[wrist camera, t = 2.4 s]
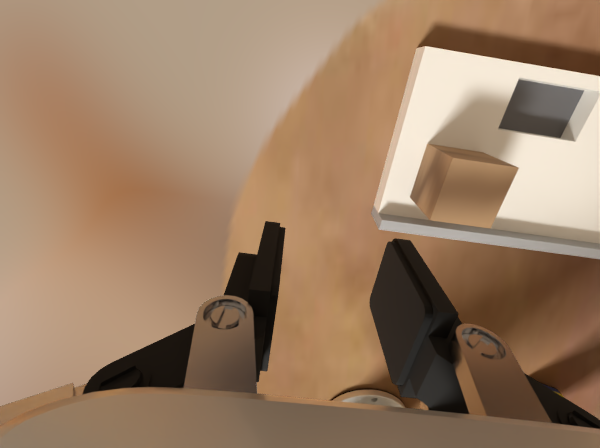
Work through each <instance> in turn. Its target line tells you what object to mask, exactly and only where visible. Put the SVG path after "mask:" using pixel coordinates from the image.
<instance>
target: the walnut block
mask: <svg viewBox="0 0 600 448" xmlns="http://www.w3.org/2000/svg"><path fill="white" fill-rule="evenodd" d="M518 169H519V168H518V167H516V166H514V165H511V164H509V163H507V162H504V161H502V160H500V159H497V158H495V157H493V156H491V155H488V154H486V153H484V152H479V151H472V150H466V149H459V148H453V147H446V146H440V145H433V144H427V146H426V149H425V152H424V155H423V158H422V161H421V164H420V167H419V170H418V173H417V177H416V180H415V183H414V186H413V189H412V192H411V195H410V198H411V199H412V200H413V202H414V203H415V204H416V205H417V206H418V207H419V208H420V210H421V211H422V212H423V213H424V214H425V215H426V216H427V218H428V219H429V220H432V221H439V222H446V223H453V224H461V225H468V226H475V227H482V228H490V229H491V226H492V224H493V222H494V220H495V218H496V216H497V214H498V212H499V209H500V207H501V205H502V203H503V201H504V199H505V197H506V195H507V192H508V190H509V188H510V186H511V184H512V182H513V180H514V178H515V175H516V173H517V171H518Z"/></svg>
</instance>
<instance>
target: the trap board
mask: <svg viewBox="0 0 600 448" xmlns="http://www.w3.org/2000/svg"><path fill="white" fill-rule="evenodd" d="M427 144H433V145H440V146H446V147H453V148H459V149H466V150H472V151H479V152H484V153H486V154H488V155H491V156H493V157H495V158H497V159H500V160H502V161H504V162H507V163H509V164H511V165H514V166H516V167H518V168H519V169H518V171H517V173H516V175H515V178H514V180H513V182H512V184H511V186H510V188H509V190H508V192H507V195H506V197H505V199H504V201H503V203H502V205H501V207H500V209H499V212H498V214H497V216H496V218H495V220H494V222H493V224H492V226H491V229H490V228H482V227H475V226H468V225H461V224H453V223H446V222H439V221H432V220H429V219H428V218H427V216H426V215H425V214H424V213H423V212H422V211H421V210H420V208H419V207H418V206H417V205H416V204H415V203H414V202H413V200H412V199H411V198H410V195H411V192H412V189H413V186H414V183H415V180H416V177H417V173H418V170H419V167H420V164H421V161H422V158H423V155H424V152H425V149H426V146H427ZM371 214H372V216H373V218H374V220H375V222H376V224H377V226H378V228H379V230H387V231H394V232H401V233H409V234H416V235H424V236H431V237H439V238H446V239H454V240H461V241H468V242H476V243H483V244H491V245H498V246H506V247H513V248H520V249H528V250H535V251H543V252H550V253H558V254H565V255H572V256H580V257H587V258H595V259H600V76H596V75H590V74H584V73H578V72H573V71H567V70H561V69H555V68H549V67H544V66H538V65H532V64H526V63H520V62H515V61H509V60H503V59H497V58H491V57H486V56H480V55H474V54H468V53H462V52H457V51H451V50H445V49H439V48H433V47H428V46H424V47H419V48H416V52H415V55H414V59H413V63H412V67H411V70H410V74H409V78H408V81H407V85H406V89H405V92H404V96H403V100H402V103H401V107H400V111H399V114H398V118H397V122H396V125H395V129H394V133H393V136H392V140H391V144H390V147H389V151H388V155H387V158H386V162H385V166H384V169H383V173H382V177H381V180H380V184H379V188H378V191H377V195H376V199H375V202H374V206H373V210H372V213H371Z"/></svg>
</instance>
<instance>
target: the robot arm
mask: <svg viewBox="0 0 600 448" xmlns="http://www.w3.org/2000/svg"><path fill="white" fill-rule="evenodd" d="M284 236H285V228H284V227H280V223H275V222H268V221H266V222H265V226H264V230H263V234H262V238H261V242H260V246H259V250H258V254H257V255H255V254H247V253H239V254H238V256H237V259H236V262H235V265H234V267H233V270H232V273H231V276H230V279H229V282H228V284H227V287H226V290H225V293H224V296H217V297H214V298H211V299H209V300H207V301H206V302H204V303H203V304H202V305H201V306H200V307H199V310H198V312H197V316H196V321H195V324H193V325H191V326H189V327H187V328H185V329H183V330H180V331H178V332H176V333H174V334H172V335H170V336H168V337H165V338H163V339H161V340H159V341H157V342H155V343H153V344H151V345H149V346H146V347H144V348H142V349H140V350H138V351H136V352H133V353H131V354H129V355H127V356H125V357H123V358H121V359H119V360H116V361H114V362H112V363H110V364H108V365H107V366H105V367H103V368H102V369H100V370H99V371H98V372H97V373H96V374H95V375H94V376H92V377H91V379H90V380H89V382H88V383H87V384H84V385H81V386H78V387H75V388H74V384H73V383H70V384H67V385H64V386H61V387H58V388H55V389H52V390H49V391H46V392H43V393H39V394H37V395H34V396H30V397H27V398H24V399H21V400H18V401H15V402H12V403H9V404H6V405H3V406H0V448H600V420H599V419H597V418H596V417H595V416H593V415H591V414H590V413H588V412H587V411H585V410H583V409H582V408H580V407H578V406H577V405H575V404H574V403H572V402H570V401H569V400H567V399H565V398H564V397H562V396H561V395H559V394H557V393H556V392H554V391H552V390H551V389H549V388H547V387H546V386H544V385H543V384H541V383H539V382H538V381H536V380H534V379H533V378H531V377H530V376H528V375H526V374H525V373H524V372H523V371H522V369H521V367H520V365H519V364H518V362H517V360H516V358H515V356H514V355H513V353H512V351H511V349H510V348H509V347H508V345H507V344H506V343H505V342H504V341H503V340H502V339H501V338H500V337H499V336H497V335H496V334H494V333H493V332H491V331H490V330H488V329H486V328H484V327H481V326H478V325H475V324H462V323H461V321H460V320H459V318H458V317H457V316H458V312H457V311H456V309H455V308H454V306H453V305H452V303H451V302H450V300H449V299H448V297H447V296H446V294H445V293H444V291H443V290H442V288H441V287H440V285H439V283H438V282H437V280H436V279H435V277H434V276H433V274H432V273H431V271H430V270H429V268H428V267H427V265H426V264H425V262H424V261H423V259H422V257H421V256H420V254H419V253H418V251H417V250H416V248H415V247H414V245H413V244H412V242H411V241H410V240H403V239H393V241H392V242H388V243H387V246H386V249H385V252H384V255H383V258H382V262H381V265H380V268H379V271H378V274H377V278H376V281H375V284H374V287H373V290H372V294H371V297H370V309H371V312H372V315H373V319H374V322H375V326H376V329H377V332H378V336H379V339H380V343H381V346H382V349H383V353H384V356H385V360H386V363H387V366H388V370H389V373H390V377H391V380H392V383H393V384H395V385H397V386H398V389H399V392H400V395H401V397H408V398H418V399H419V400H420V401H421V402H420V409H412V408H405V406H404V404H403V403H402V402H401V401H400V400H399V399H398V398H397V397H395V396H394V395H391V394H389V393H387V392H383V391H379V390H365V389H364V390H355V391H351V392H347V393H345V394H342V395H340V396H338V397H337V398H335V399H333V400H332V401H330V400H320V399H309V398H298V397H288V396H277V395H266V394H257V382H259V375H260V371H267V369H268V362H269V355H270V348H271V341H272V334H273V328H274V321H275V314H276V307H277V300H278V292H279V283H280V274H281V264H282V255H283V246H284Z"/></svg>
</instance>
